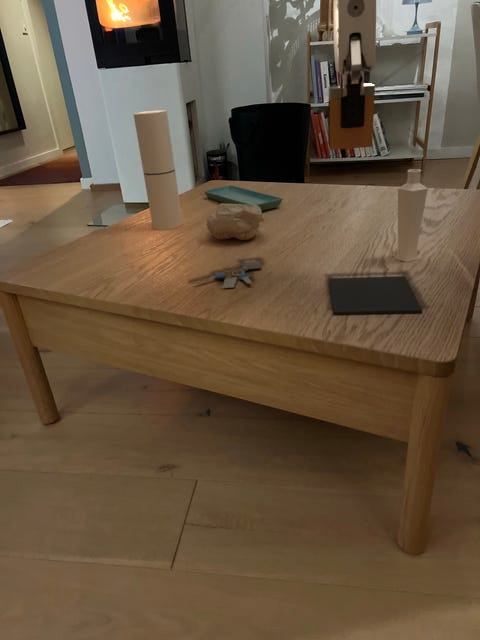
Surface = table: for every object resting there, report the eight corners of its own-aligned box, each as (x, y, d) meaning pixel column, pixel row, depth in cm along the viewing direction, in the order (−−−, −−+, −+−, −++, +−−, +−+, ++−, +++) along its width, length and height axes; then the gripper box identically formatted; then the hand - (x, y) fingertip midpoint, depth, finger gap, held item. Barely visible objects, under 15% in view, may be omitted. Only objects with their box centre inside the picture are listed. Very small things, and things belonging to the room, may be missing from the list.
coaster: (404, 278, 76) (405, 275, 76) (422, 313, 65) (422, 310, 65) (328, 281, 77) (328, 278, 77) (333, 315, 67) (333, 311, 67)
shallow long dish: (203, 197, 135) (202, 189, 134) (230, 191, 139) (230, 183, 138) (253, 215, 115) (253, 205, 114) (284, 208, 119) (283, 198, 118)
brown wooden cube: (370, 83, 70) (328, 86, 71) (375, 85, 64) (330, 88, 65) (367, 140, 73) (328, 143, 74) (372, 146, 68) (329, 149, 69)
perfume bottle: (415, 264, 81) (424, 174, 74) (390, 260, 83) (396, 172, 76) (424, 255, 84) (434, 168, 77) (400, 251, 86) (407, 166, 79)
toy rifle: (252, 261, 88) (251, 257, 87) (285, 271, 82) (284, 266, 82) (192, 286, 80) (192, 281, 79) (224, 299, 74) (224, 294, 74)
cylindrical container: (148, 230, 111) (128, 114, 100) (158, 221, 117) (140, 111, 106) (177, 229, 110) (160, 112, 98) (186, 220, 116) (171, 109, 104)
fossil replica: (208, 234, 105) (210, 252, 97) (201, 198, 101) (202, 214, 92) (262, 224, 105) (268, 242, 97) (257, 188, 101) (263, 203, 92)
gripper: (394, -41, 53) (384, 130, 62) (375, -19, 68) (370, 116, 77) (326, -33, 54) (326, 134, 63) (322, -12, 70) (323, 120, 78)
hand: (350, 123), depth 70 cm, fingers closed on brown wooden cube, 6 cm apart
